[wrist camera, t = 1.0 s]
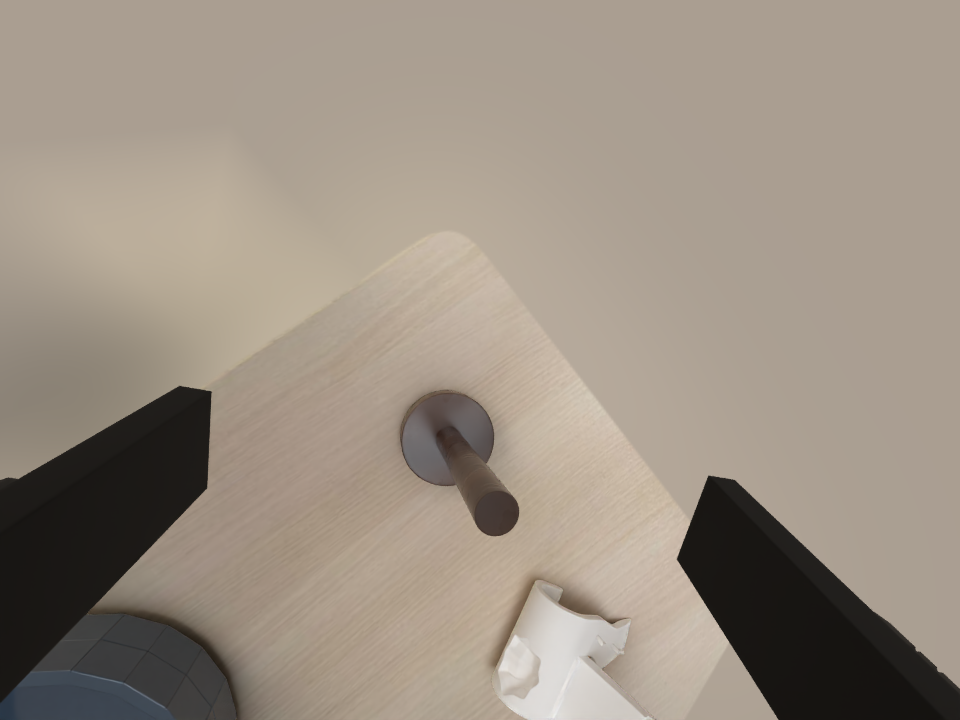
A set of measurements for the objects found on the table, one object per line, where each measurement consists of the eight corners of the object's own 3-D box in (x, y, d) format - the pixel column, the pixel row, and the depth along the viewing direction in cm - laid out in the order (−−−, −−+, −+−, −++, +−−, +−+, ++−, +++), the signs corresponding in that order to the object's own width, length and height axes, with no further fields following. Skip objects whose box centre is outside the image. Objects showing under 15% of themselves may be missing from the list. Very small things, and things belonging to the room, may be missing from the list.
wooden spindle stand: (390, 402, 33) (396, 457, 17) (477, 380, 34) (556, 413, 18) (412, 488, 33) (436, 617, 18) (496, 464, 35) (588, 564, 19)
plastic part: (529, 573, 36) (596, 679, 24) (635, 617, 37) (744, 735, 26) (485, 666, 35) (533, 819, 24) (595, 706, 37) (688, 866, 26)
